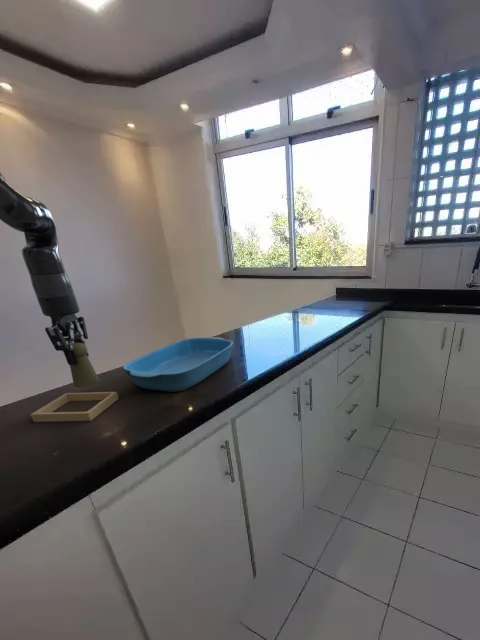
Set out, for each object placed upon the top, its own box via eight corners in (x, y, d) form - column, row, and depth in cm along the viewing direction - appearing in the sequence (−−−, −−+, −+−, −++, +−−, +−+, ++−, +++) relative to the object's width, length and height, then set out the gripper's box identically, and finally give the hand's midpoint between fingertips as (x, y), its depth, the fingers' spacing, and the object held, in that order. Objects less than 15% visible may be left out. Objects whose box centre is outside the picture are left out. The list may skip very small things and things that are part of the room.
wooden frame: (35, 425, 71) (30, 414, 70) (69, 402, 82) (65, 392, 81) (92, 423, 71) (88, 413, 70) (119, 401, 81) (116, 391, 80)
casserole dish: (180, 402, 79) (174, 376, 76) (112, 394, 86) (104, 370, 82) (245, 357, 111) (243, 337, 107) (192, 353, 117) (188, 335, 114)
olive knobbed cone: (97, 377, 89) (84, 339, 84) (101, 383, 85) (88, 343, 80) (72, 382, 85) (57, 343, 81) (75, 389, 81) (60, 348, 76)
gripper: (55, 291, 81) (77, 353, 88) (18, 298, 68) (48, 371, 75) (85, 289, 82) (105, 351, 89) (55, 297, 69) (81, 369, 76)
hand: (79, 360), depth 82 cm, fingers closed on olive knobbed cone, 5 cm apart
